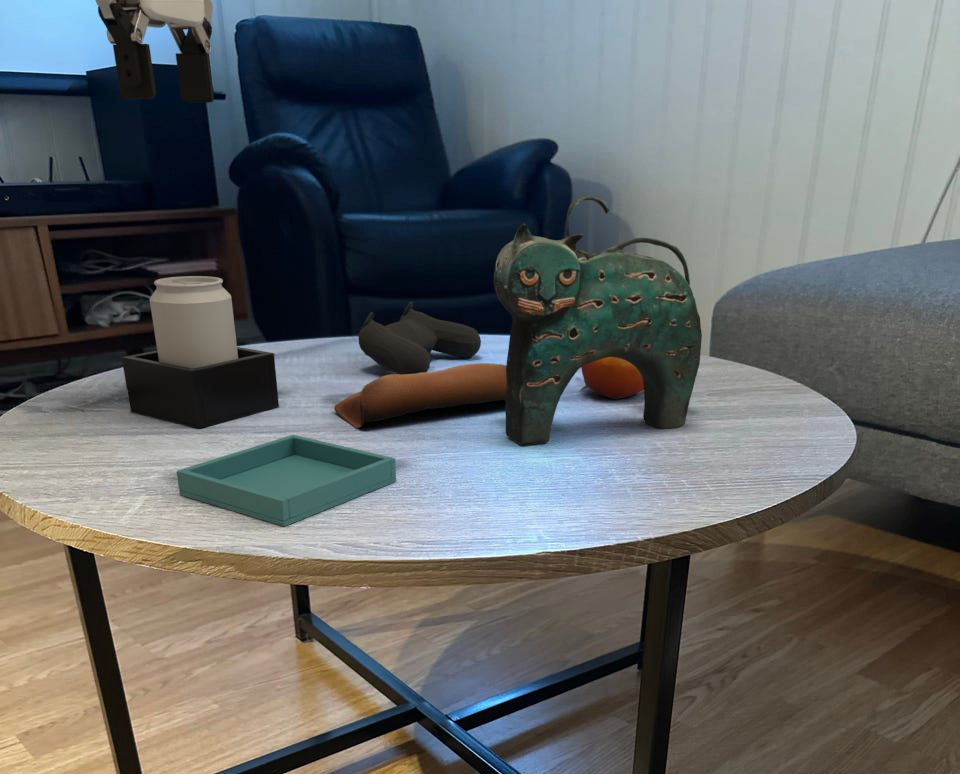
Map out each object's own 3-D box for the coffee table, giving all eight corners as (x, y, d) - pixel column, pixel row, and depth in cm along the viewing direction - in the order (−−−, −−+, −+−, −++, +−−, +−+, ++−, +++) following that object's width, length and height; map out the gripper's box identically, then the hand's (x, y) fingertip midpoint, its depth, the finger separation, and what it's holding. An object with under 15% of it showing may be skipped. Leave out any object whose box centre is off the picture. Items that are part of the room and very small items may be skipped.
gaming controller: (469, 374, 119) (410, 326, 120) (491, 336, 115) (429, 287, 116) (403, 402, 106) (337, 349, 107) (425, 361, 102) (356, 305, 103)
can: (259, 403, 94) (246, 276, 89) (205, 419, 89) (187, 285, 83) (205, 393, 98) (189, 271, 92) (149, 409, 92) (128, 279, 86)
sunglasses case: (483, 385, 101) (500, 335, 95) (512, 431, 98) (532, 383, 93) (327, 406, 93) (336, 353, 87) (354, 458, 90) (366, 406, 84)
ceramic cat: (507, 452, 81) (513, 197, 72) (480, 432, 86) (481, 193, 77) (701, 429, 88) (729, 194, 78) (664, 413, 93) (687, 190, 84)
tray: (284, 526, 65) (281, 500, 64) (179, 494, 71) (175, 470, 70) (396, 481, 74) (395, 458, 73) (295, 456, 80) (293, 434, 79)
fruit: (602, 366, 105) (635, 307, 99) (644, 414, 103) (680, 356, 97) (550, 376, 101) (581, 314, 95) (593, 426, 98) (627, 367, 92)
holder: (199, 429, 87) (191, 371, 85) (130, 412, 92) (121, 357, 90) (279, 406, 94) (274, 352, 92) (211, 392, 100) (205, 341, 97)
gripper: (156, -112, 86) (184, 103, 94) (28, -164, 71) (74, 97, 79) (230, -117, 84) (252, 103, 92) (114, -171, 69) (152, 97, 77)
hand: (169, 100), depth 85 cm, fingers open, 9 cm apart
